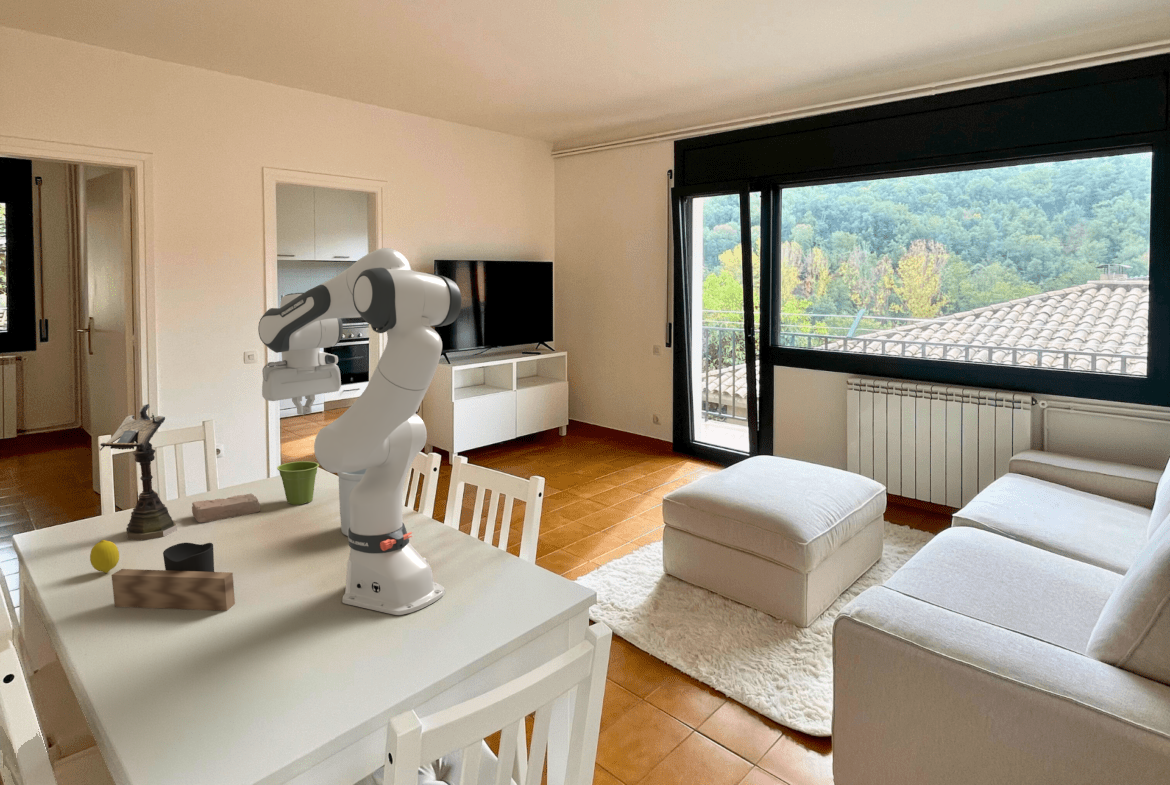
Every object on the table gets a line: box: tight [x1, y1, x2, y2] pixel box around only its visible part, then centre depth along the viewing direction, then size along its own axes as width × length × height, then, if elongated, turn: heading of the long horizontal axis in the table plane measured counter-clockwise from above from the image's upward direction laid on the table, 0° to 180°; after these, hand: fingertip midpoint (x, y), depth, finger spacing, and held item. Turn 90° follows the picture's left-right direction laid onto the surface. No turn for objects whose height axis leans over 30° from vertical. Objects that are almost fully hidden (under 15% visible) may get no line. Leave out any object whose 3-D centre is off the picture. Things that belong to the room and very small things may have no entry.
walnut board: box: [111, 568, 236, 611], centre depth 145 cm, size 24×3×7 cm, turn 87°
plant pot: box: [276, 460, 320, 506], centre depth 212 cm, size 12×12×11 cm
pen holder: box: [162, 542, 215, 572], centre depth 151 cm, size 9×9×10 cm
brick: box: [191, 493, 261, 524], centre depth 201 cm, size 16×8×5 cm, turn 130°
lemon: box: [89, 539, 120, 574], centre depth 160 cm, size 6×6×8 cm
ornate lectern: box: [99, 403, 178, 541], centre depth 181 cm, size 17×13×35 cm
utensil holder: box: [337, 469, 367, 537], centre depth 189 cm, size 15×15×18 cm
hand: (304, 413), depth 174 cm, fingers closed
